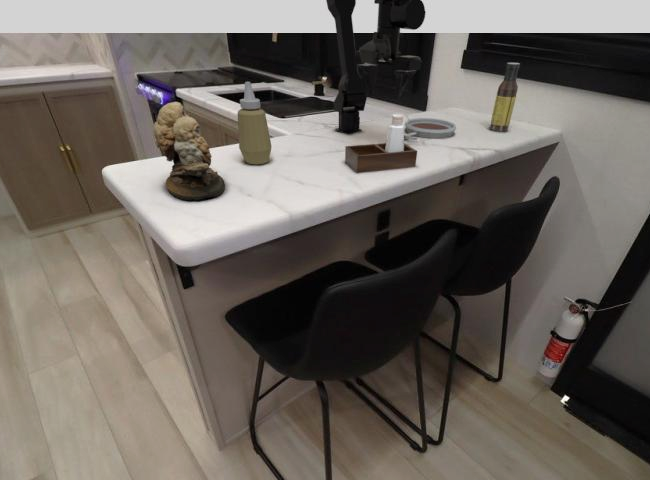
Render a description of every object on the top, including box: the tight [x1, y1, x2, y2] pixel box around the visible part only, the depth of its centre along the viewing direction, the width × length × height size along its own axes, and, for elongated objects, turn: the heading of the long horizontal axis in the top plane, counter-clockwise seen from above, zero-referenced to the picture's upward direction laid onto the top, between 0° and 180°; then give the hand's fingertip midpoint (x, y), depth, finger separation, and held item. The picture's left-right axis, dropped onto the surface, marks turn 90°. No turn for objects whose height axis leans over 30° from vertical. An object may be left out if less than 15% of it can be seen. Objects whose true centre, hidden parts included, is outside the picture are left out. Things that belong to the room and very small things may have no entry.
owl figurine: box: [152, 101, 226, 201], centre depth 78 cm, size 18×12×17 cm, turn 34°
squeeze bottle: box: [237, 81, 272, 165], centre depth 92 cm, size 8×8×18 cm
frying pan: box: [404, 117, 457, 141], centre depth 122 cm, size 17×3×28 cm
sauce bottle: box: [489, 62, 521, 133], centre depth 125 cm, size 6×6×20 cm
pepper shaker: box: [385, 113, 405, 153], centre depth 96 cm, size 5×5×11 cm
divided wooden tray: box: [344, 142, 418, 174], centre depth 98 cm, size 9×16×4 cm, turn 111°
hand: (383, 97), depth 104 cm, fingers open, 9 cm apart
